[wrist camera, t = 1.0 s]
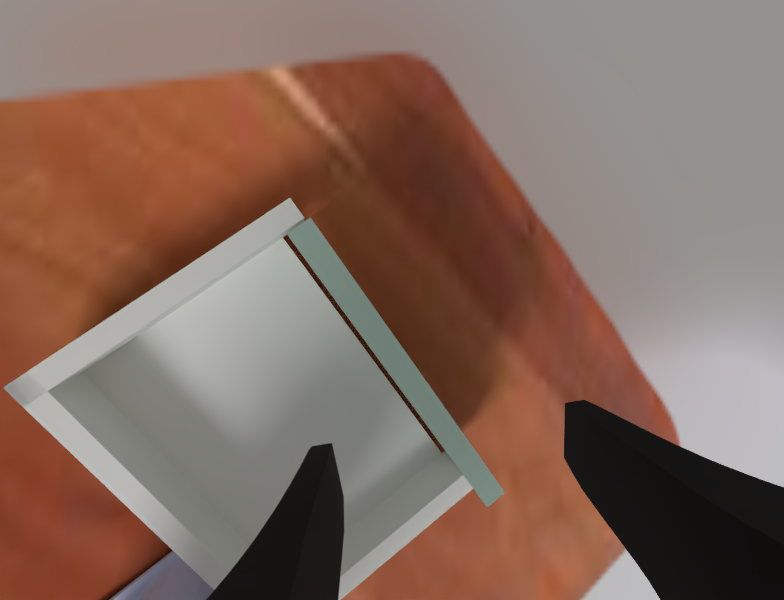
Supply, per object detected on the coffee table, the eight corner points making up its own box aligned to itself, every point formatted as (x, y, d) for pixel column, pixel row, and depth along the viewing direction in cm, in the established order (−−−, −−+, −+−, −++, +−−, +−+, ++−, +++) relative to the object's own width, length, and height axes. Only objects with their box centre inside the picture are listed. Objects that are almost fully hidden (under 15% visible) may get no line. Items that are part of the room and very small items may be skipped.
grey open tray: (282, 584, 26) (278, 651, 21) (64, 361, 21) (2, 387, 17) (458, 441, 28) (488, 475, 23) (292, 208, 23) (289, 197, 19)
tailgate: (441, 446, 26) (487, 507, 19) (291, 240, 22) (286, 233, 16) (455, 435, 26) (504, 492, 19) (308, 228, 22) (310, 217, 16)
